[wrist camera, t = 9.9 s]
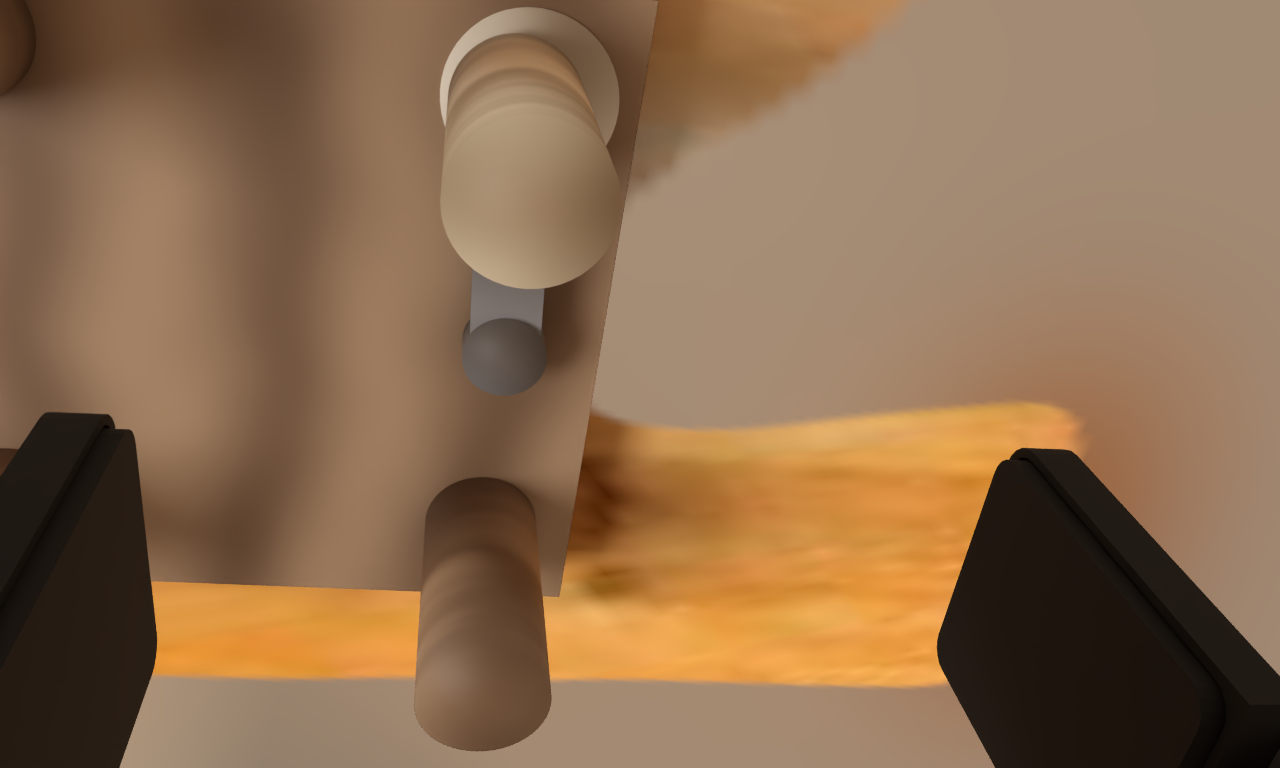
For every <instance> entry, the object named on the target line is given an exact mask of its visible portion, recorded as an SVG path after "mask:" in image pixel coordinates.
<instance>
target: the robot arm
mask: <svg viewBox="0 0 1280 768" xmlns="http://www.w3.org/2000/svg"><path fill="white" fill-rule="evenodd" d="M156 651H157V632H156V623H155V614H154V604H153V595H152V586H151V577H150V568H149V559H148V550H147V541H146V531H145V522H144V513H143V504H142V495H141V486H140V477H139V468H138V458H137V449H136V442H135V437H134V434H133V432H132V431H131V430H130V429H116V428H115V423H114V421H113V419H112V417H111V416H110V415H109V414H93V413H66V412H46V413H44V414H43V415H42V416H41V417H40V418H39V420H38V421H37V423H36V424H35V426H34V427H33V429H32V430H31V432H30V433H29V435H28V436H27V438H26V439H25V441H24V442H23V444H22V445H21V446H20V448H19V449H18V451H17V452H16V454H15V455H14V457H13V458H12V460H11V461H10V463H9V464H8V466H7V467H6V469H5V470H4V472H3V473H2V475H1V476H0V768H119V767H120V764H121V761H122V758H123V755H124V753H125V750H126V747H127V744H128V741H129V738H130V735H131V733H132V730H133V727H134V724H135V721H136V718H137V715H138V713H139V710H140V707H141V704H142V701H143V698H144V695H145V693H146V690H147V687H148V684H149V681H150V679H151V676H152V672H153V669H154V664H155V659H156ZM937 653H938V659H939V663H940V666H941V668H942V670H943V672H944V674H945V676H946V678H947V680H948V682H949V683H950V685H951V687H952V689H953V691H954V693H955V694H956V696H957V698H958V700H959V702H960V704H961V705H962V707H963V709H964V711H965V713H966V715H967V717H968V718H969V720H970V722H971V724H972V726H973V728H974V729H975V731H976V733H977V735H978V737H979V739H980V740H981V742H982V744H983V746H984V748H985V750H986V752H987V753H988V755H989V757H990V759H991V760H992V763H993V764H994V766H995V768H1280V676H1279V675H1278V674H1277V673H1276V672H1275V671H1274V670H1273V668H1272V667H1271V666H1270V665H1269V664H1268V663H1267V662H1266V661H1265V660H1264V659H1263V658H1262V656H1261V655H1260V654H1259V653H1258V652H1257V651H1256V650H1255V649H1254V648H1253V647H1252V646H1251V645H1250V643H1249V642H1248V641H1247V640H1246V639H1245V638H1244V637H1243V636H1242V635H1241V634H1240V633H1239V631H1238V630H1236V628H1235V627H1234V626H1233V625H1232V624H1231V623H1230V622H1229V621H1228V619H1226V617H1225V616H1224V615H1223V614H1222V613H1221V612H1220V611H1219V610H1218V609H1217V607H1216V606H1215V605H1214V604H1213V603H1212V602H1211V601H1210V600H1209V599H1208V598H1207V597H1206V596H1205V594H1204V593H1203V592H1202V591H1201V590H1200V589H1199V588H1198V587H1197V586H1196V585H1195V584H1194V582H1193V581H1192V580H1191V579H1190V578H1189V577H1188V576H1187V575H1186V574H1185V573H1184V572H1183V570H1182V569H1181V568H1180V567H1179V566H1178V565H1177V564H1176V563H1175V562H1174V561H1173V560H1172V559H1171V558H1170V556H1169V555H1168V554H1167V553H1166V552H1165V551H1164V550H1163V549H1162V548H1161V547H1160V545H1159V544H1158V543H1157V542H1156V541H1155V540H1154V539H1153V538H1152V537H1151V536H1150V535H1149V534H1148V532H1147V531H1146V530H1145V529H1144V528H1143V527H1142V526H1141V525H1140V524H1139V523H1138V521H1137V520H1136V519H1135V518H1134V517H1133V516H1132V515H1131V514H1130V513H1129V512H1128V511H1127V509H1126V508H1125V507H1124V506H1123V505H1122V504H1121V503H1120V502H1119V501H1118V500H1117V499H1116V497H1115V496H1114V495H1113V494H1112V493H1111V492H1110V491H1109V490H1108V489H1107V488H1106V487H1105V486H1104V484H1103V483H1102V482H1101V481H1100V480H1099V479H1098V478H1097V477H1096V476H1095V475H1094V474H1093V472H1092V471H1091V470H1090V469H1089V468H1088V467H1087V466H1086V465H1085V464H1084V463H1083V462H1082V460H1081V459H1080V458H1079V457H1078V456H1077V455H1076V454H1074V453H1073V452H1072V451H1069V450H1062V449H1035V448H1021V449H1019V450H1016V452H1015V453H1014V454H1013V455H1012V456H1011V458H1010V460H1004V461H1002V462H1001V463H1000V464H999V465H998V467H997V469H996V471H995V473H994V476H993V479H992V482H991V485H990V488H989V491H988V494H987V497H986V499H985V502H984V505H983V508H982V511H981V514H980V517H979V520H978V523H977V525H976V528H975V531H974V534H973V537H972V540H971V543H970V546H969V549H968V551H967V554H966V557H965V560H964V563H963V566H962V569H961V572H960V575H959V577H958V580H957V583H956V586H955V589H954V592H953V595H952V598H951V600H950V603H949V606H948V609H947V612H946V615H945V618H944V621H943V624H942V626H941V629H940V632H939V636H938V640H937Z"/></svg>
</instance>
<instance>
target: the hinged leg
mask: <svg viewBox="0 0 1280 768" xmlns="http://www.w3.org/2000/svg"><path fill="white" fill-rule="evenodd" d="M440 206H441V216H442V221H443V225H444V228H445V231H446V234H447V236H448V238H449V240H450V242H451V244H452V246H453V247H454V249H455V250H456V252H457V253H458V255H459V256H460V257H461V258H462V259H463V260H464V261H465V262H466V263H467V264H468V265H469V266H470V267H471V268H472V282H471V307H470V320H469V321H468V322H467V324H466V326H465V328H464V332H463V337H462V364H463V368H464V371H465V374H466V375H467V377H468V379H469V380H470V381H471V382H472V383H473V384H474V385H475V386H476V387H477V388H479V389H481V390H482V391H484V392H487V393H490V394H493V395H499V396H509V395H515V394H519V393H521V392H524V391H526V390H527V389H529V388H531V387H532V386H533V385H534V384H535V383H536V382H537V381H538V380H539V379H540V378H541V376H542V374H543V372H544V370H545V367H546V362H547V355H546V347H545V340H544V333H543V329H542V315H543V301H544V288H549V287H553V286H557V285H561V284H563V283H566V282H568V281H571V280H573V279H575V278H576V277H578V276H580V275H582V274H583V273H585V272H586V271H587V270H589V269H590V268H591V267H592V266H593V265H594V264H596V263H597V262H598V261H599V260H600V258H601V257H602V256H603V255H604V254H605V252H606V251H607V249H608V248H609V246H610V245H611V243H612V241H613V239H614V237H615V235H616V232H617V229H618V226H619V223H620V218H621V212H622V195H621V187H620V183H619V179H618V176H617V173H616V171H615V168H614V165H613V163H612V160H611V158H610V155H609V152H608V150H607V147H606V145H605V142H604V139H603V137H602V134H601V131H600V129H599V126H598V124H597V121H596V118H595V116H594V113H593V111H592V108H591V105H590V103H589V100H588V97H587V95H586V92H585V90H584V87H583V84H582V82H581V79H580V77H579V74H578V72H577V70H576V68H575V67H574V65H573V64H572V62H571V61H570V60H569V58H568V57H567V56H566V55H565V54H564V53H563V52H562V51H561V50H560V49H558V48H557V47H556V46H554V45H553V44H551V43H549V42H548V41H546V40H544V39H541V38H539V37H536V36H532V35H528V34H522V33H509V34H501V35H498V36H494V37H491V38H489V39H486V40H484V41H482V42H481V43H479V44H477V45H476V46H475V47H473V48H472V49H471V50H470V51H469V52H468V53H467V54H466V55H465V56H464V57H463V58H462V59H461V61H460V62H459V64H458V65H457V67H456V69H455V71H454V73H453V76H452V78H451V81H450V85H449V90H448V102H447V115H446V129H445V143H444V156H443V170H442V184H441V197H440Z"/></svg>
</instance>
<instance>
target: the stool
mask: <svg viewBox="0 0 1280 768" xmlns="http://www.w3.org/2000/svg"><path fill="white" fill-rule="evenodd" d="M657 7H658V0H0V476H1V475H2V473H3V472H4V470H5V469H6V467H7V466H8V464H9V463H10V461H11V460H12V458H13V457H14V455H15V454H16V452H17V451H18V449H19V448H20V446H21V445H22V444H23V442H24V441H25V439H26V438H27V436H28V435H29V433H30V432H31V430H32V429H33V427H34V426H35V424H36V423H37V421H38V420H39V418H40V417H41V416H42V415H43V414H44V413H46V412H66V413H93V414H109V415H110V416H111V417H112V419H113V421H114V423H115V428H116V429H130V430H131V431H132V432H133V434H134V437H135V442H136V449H137V458H138V468H139V477H140V486H141V495H142V504H143V513H144V522H145V531H146V541H147V550H148V559H149V568H150V577H151V581H163V582H188V583H214V584H240V585H266V586H292V587H318V588H344V589H370V590H396V591H421V599H420V615H419V631H418V647H417V663H416V680H415V696H414V710H415V715H416V718H417V720H418V722H419V724H420V725H421V727H422V728H423V729H424V730H425V732H426V733H427V734H428V735H430V736H431V737H432V738H433V739H435V740H436V741H438V742H440V743H442V744H444V745H447V746H449V747H452V748H456V749H460V750H466V751H489V750H496V749H500V748H504V747H507V746H510V745H513V744H515V743H518V742H520V741H521V740H523V739H525V738H526V737H528V736H529V735H531V734H532V733H533V732H534V731H535V730H536V729H538V727H539V726H540V725H541V724H542V723H543V721H544V720H545V718H546V717H547V715H548V712H549V710H550V706H551V686H550V675H549V664H548V653H547V642H546V631H545V619H544V608H543V597H542V596H551V597H559V595H560V589H561V583H562V577H563V571H564V565H565V559H566V553H567V547H568V541H569V535H570V529H571V523H572V517H573V511H574V505H575V499H576V493H577V487H578V481H579V475H580V469H581V463H582V457H583V451H584V445H585V439H586V433H587V427H588V421H589V415H590V409H591V403H592V397H593V391H594V385H595V379H596V373H597V366H598V360H599V355H600V349H601V343H602V337H603V331H604V325H605V319H606V313H607V307H608V301H609V295H610V289H611V282H612V276H613V271H614V265H615V259H616V252H617V247H618V241H619V235H620V229H621V223H622V217H623V211H624V205H625V199H626V193H627V187H628V181H629V175H630V169H631V163H632V157H633V151H634V145H635V139H636V133H637V127H638V121H639V115H640V109H641V103H642V97H643V91H644V85H645V79H646V73H647V67H648V61H649V55H650V49H651V43H652V37H653V31H654V25H655V19H656V13H657ZM509 33H522V34H528V35H532V36H536V37H539V38H541V39H544V40H546V41H548V42H549V43H551V44H553V45H554V46H556V47H557V48H558V49H560V50H561V51H562V52H563V53H564V54H565V55H566V56H567V57H568V58H569V60H570V61H571V62H572V64H573V65H574V67H575V68H576V70H577V72H578V74H579V77H580V79H581V82H582V84H583V87H584V90H585V92H586V95H587V97H588V100H589V103H590V105H591V108H592V111H593V113H594V116H595V118H596V121H597V124H598V126H599V129H600V131H601V134H602V137H603V139H604V142H605V145H606V147H607V150H608V152H609V155H610V158H611V160H612V163H613V165H614V168H615V171H616V173H617V176H618V179H619V183H620V187H621V195H622V212H621V218H620V223H619V226H618V229H617V232H616V235H615V237H614V239H613V241H612V243H611V245H610V246H609V248H608V249H607V251H606V252H605V254H604V255H603V256H602V257H601V258H600V260H599V261H598V262H597V263H596V264H594V265H593V266H592V267H591V268H590V269H589V270H587V271H586V272H585V273H583V274H582V275H580V276H578V277H576V278H575V279H573V280H571V281H568V282H566V283H563V284H561V285H557V286H553V287H549V288H544V301H543V315H542V329H543V333H544V340H545V347H546V355H547V362H546V367H545V370H544V372H543V374H542V376H541V378H540V379H539V380H538V381H537V382H536V383H535V384H534V385H533V386H532V387H531V388H529V389H527V390H526V391H524V392H521V393H519V394H515V395H509V396H499V395H493V394H490V393H487V392H484V391H482V390H481V389H479V388H477V387H476V386H475V385H474V384H473V383H472V382H471V381H470V380H469V379H468V377H467V375H466V374H465V371H464V368H463V364H462V337H463V332H464V328H465V326H466V324H467V322H468V321H469V320H470V307H471V282H472V268H471V267H470V266H469V265H468V264H467V263H466V262H465V261H464V260H463V259H462V258H461V257H460V256H459V255H458V253H457V252H456V250H455V249H454V247H453V246H452V244H451V242H450V240H449V238H448V236H447V234H446V231H445V228H444V225H443V221H442V216H441V206H440V197H441V184H442V170H443V156H444V143H445V129H446V115H447V102H448V90H449V85H450V81H451V78H452V76H453V73H454V71H455V69H456V67H457V65H458V64H459V62H460V61H461V59H462V58H463V57H464V56H465V55H466V54H467V53H468V52H469V51H470V50H471V49H472V48H473V47H475V46H476V45H477V44H479V43H481V42H482V41H484V40H486V39H489V38H491V37H494V36H498V35H501V34H509Z"/></svg>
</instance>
